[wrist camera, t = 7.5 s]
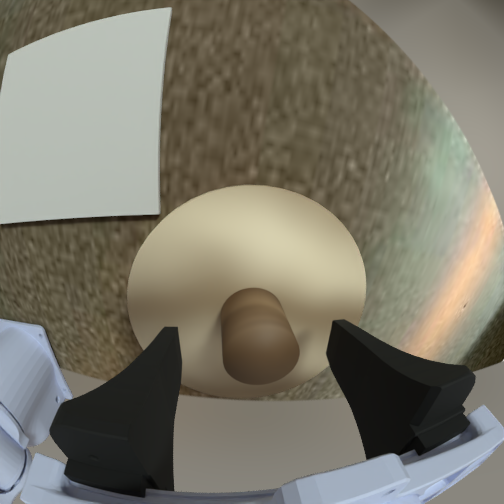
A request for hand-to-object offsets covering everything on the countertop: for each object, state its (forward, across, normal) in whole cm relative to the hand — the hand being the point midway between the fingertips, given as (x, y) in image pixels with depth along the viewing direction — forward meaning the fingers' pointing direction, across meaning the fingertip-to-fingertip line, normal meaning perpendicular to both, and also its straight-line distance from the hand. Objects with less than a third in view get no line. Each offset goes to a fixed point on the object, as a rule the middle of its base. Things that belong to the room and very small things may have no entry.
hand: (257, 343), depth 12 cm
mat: (+8, +13, -12) cm, 19 cm away
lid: (+3, 0, 0) cm, 3 cm away
